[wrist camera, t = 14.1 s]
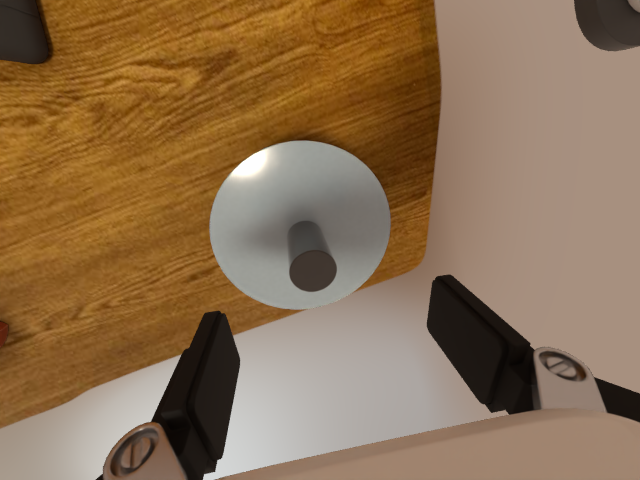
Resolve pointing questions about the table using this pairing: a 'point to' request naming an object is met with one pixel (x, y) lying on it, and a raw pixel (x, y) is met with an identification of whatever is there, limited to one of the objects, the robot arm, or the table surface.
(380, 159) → the table surface
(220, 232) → the lid
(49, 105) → the table surface
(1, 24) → the computer mouse
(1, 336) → the book
